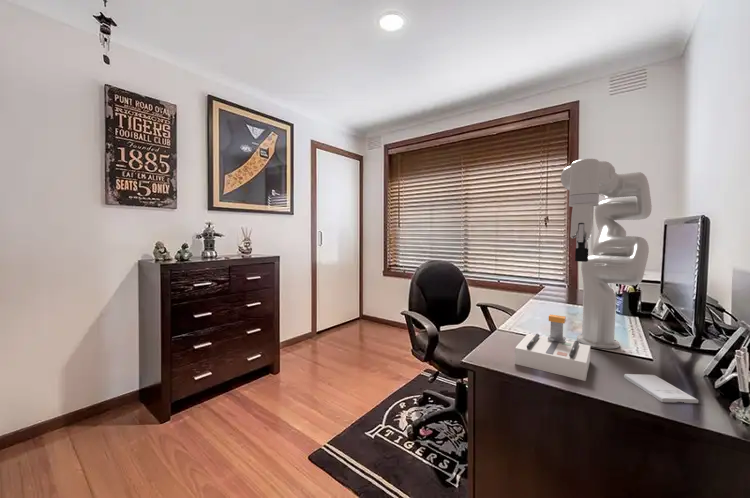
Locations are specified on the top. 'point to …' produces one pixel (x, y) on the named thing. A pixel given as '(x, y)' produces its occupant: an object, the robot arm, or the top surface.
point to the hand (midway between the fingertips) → (581, 261)
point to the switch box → (553, 356)
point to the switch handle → (556, 328)
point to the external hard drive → (659, 388)
